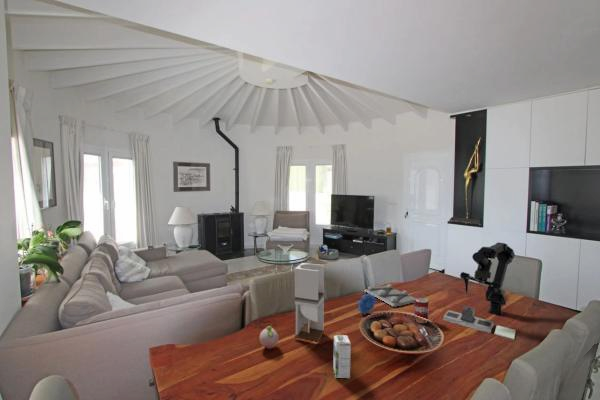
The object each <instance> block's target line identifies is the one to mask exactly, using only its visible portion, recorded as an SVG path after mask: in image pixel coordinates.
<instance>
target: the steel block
mask: <svg viewBox="0 0 600 400" xmlns="http://www.w3.org/2000/svg"><path fill="white" fill-rule="evenodd" d="M461 313H462V320H464V321H468V322H472V323H474V317H475V307H472V306H467V305H463V307H462V309H461Z"/></svg>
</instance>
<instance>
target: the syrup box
mask: <svg viewBox="0 0 600 400" xmlns="http://www.w3.org/2000/svg"><path fill="white" fill-rule="evenodd" d="M351 345H352V344H351V340H350V339H349V336H348V335H344V334H339V335H333V356H332V357H333V361H332V362H333V363H332V364H333V365H332V370H334V371H333V375H334V374H335V375H334V378H335V379H336V378H347V379H351V350H352V349H351V348H352V347H351Z"/></svg>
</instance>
